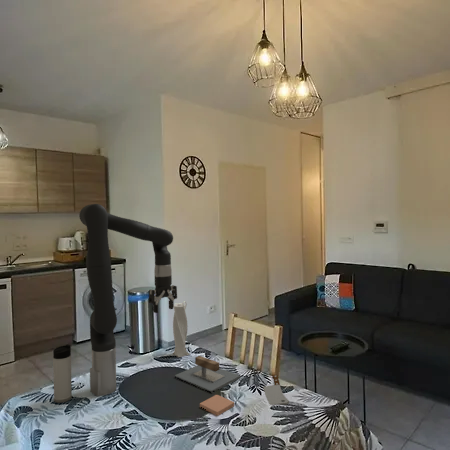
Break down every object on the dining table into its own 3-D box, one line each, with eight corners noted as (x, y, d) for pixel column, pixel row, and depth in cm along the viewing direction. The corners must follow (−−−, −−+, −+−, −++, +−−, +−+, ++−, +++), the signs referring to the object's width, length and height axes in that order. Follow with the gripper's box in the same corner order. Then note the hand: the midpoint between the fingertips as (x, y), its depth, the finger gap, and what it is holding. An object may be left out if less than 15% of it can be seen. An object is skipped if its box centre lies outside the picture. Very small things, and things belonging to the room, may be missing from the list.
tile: (199, 408, 133) (217, 417, 127) (199, 403, 133) (217, 412, 127) (216, 399, 140) (234, 407, 134) (216, 394, 140) (234, 402, 134)
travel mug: (76, 396, 142) (75, 345, 142) (62, 404, 136) (61, 351, 136) (64, 393, 145) (63, 343, 144) (50, 401, 139) (49, 349, 138)
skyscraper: (192, 355, 184) (191, 300, 183) (177, 359, 179) (177, 303, 179) (184, 350, 191) (183, 297, 190) (170, 354, 186) (169, 299, 186)
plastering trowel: (191, 374, 159) (191, 359, 159) (203, 369, 164) (202, 354, 164) (213, 383, 150) (213, 366, 150) (224, 377, 156) (224, 361, 156)
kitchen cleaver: (259, 375, 159) (282, 374, 158) (259, 377, 159) (282, 376, 158) (262, 404, 135) (289, 403, 134) (262, 407, 135) (290, 406, 134)
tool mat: (211, 393, 144) (211, 390, 144) (174, 377, 158) (174, 375, 158) (240, 378, 157) (240, 375, 157) (203, 364, 172) (203, 362, 172)
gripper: (169, 272, 170) (170, 306, 170) (144, 275, 159) (145, 312, 159) (180, 273, 165) (181, 309, 165) (155, 277, 154) (156, 315, 154)
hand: (163, 310), depth 162 cm, fingers open, 8 cm apart
